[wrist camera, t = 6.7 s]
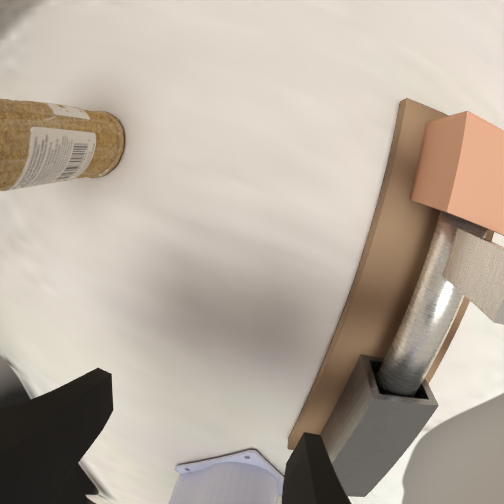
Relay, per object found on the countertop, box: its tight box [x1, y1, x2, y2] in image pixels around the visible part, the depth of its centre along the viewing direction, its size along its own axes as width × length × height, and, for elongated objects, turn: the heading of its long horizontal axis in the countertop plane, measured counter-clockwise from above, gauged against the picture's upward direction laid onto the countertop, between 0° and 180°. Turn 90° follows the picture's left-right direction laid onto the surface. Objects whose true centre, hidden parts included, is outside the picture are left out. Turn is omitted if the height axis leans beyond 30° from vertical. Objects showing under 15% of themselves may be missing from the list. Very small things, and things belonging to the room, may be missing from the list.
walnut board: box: [288, 98, 494, 450], centre depth 18 cm, size 26×8×1 cm, turn 167°
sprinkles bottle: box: [0, 99, 124, 191], centre depth 12 cm, size 5×5×13 cm
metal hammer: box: [375, 211, 504, 398], centre depth 12 cm, size 14×3×8 cm, turn 167°
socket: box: [409, 111, 504, 236], centre depth 13 cm, size 4×5×5 cm
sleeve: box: [320, 354, 439, 497], centre depth 18 cm, size 10×4×4 cm, turn 167°
